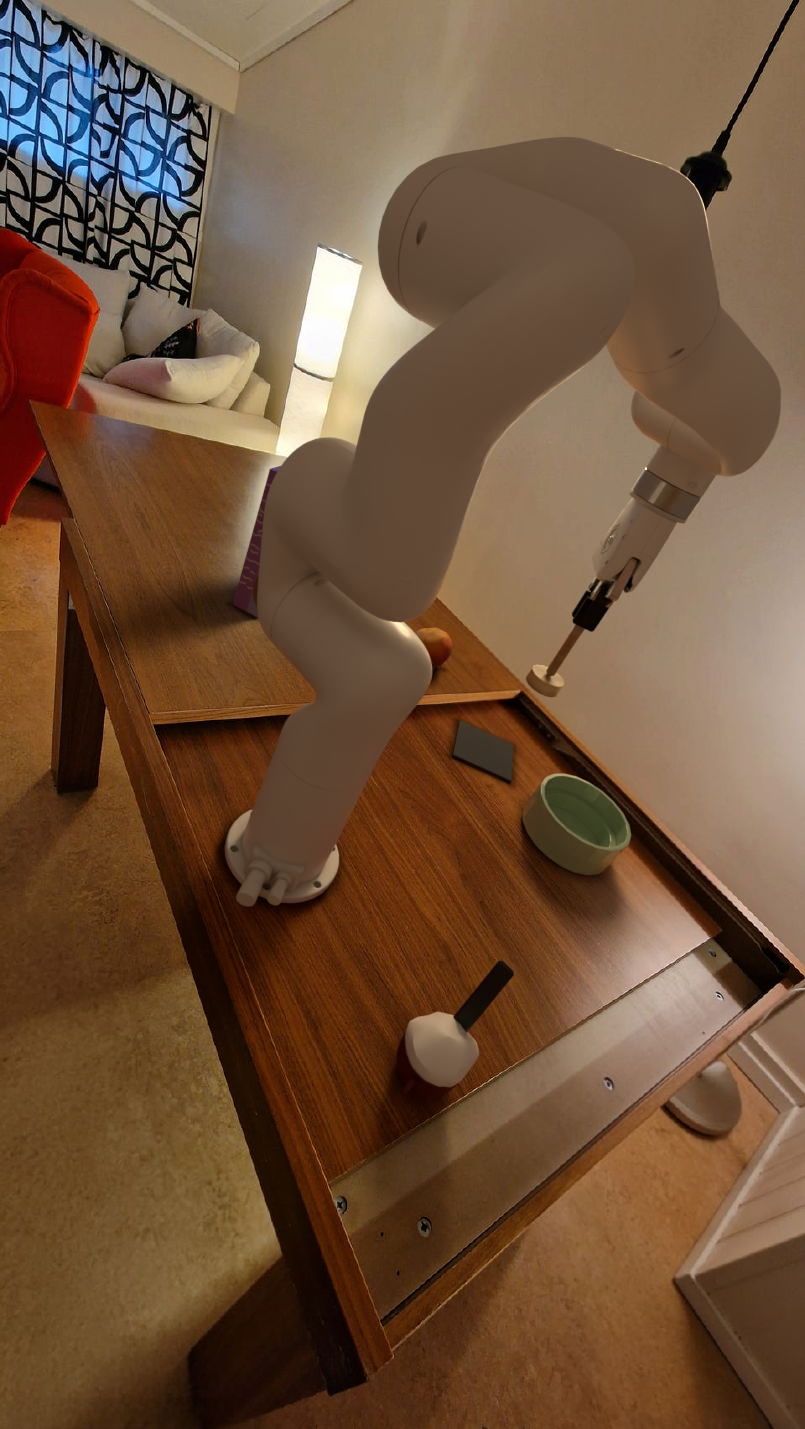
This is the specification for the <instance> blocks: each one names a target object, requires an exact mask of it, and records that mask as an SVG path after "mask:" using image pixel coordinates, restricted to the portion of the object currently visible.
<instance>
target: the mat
mask: <svg viewBox="0 0 805 1429" xmlns="http://www.w3.org/2000/svg"><path fill="white" fill-rule="evenodd" d="M457 724H458V725H457V730H456V735H455V739H454V745H453V750H452V757H453V758H455V759H457V760H459V761H462V762H464V763H467V764H468V765H470V766H473V767H474V768H477V769H479V770H482V771H484V772H486V773H488V774H491V775H492V776H495V777H497V778H499V779H501V780H503V781H505V782H507V783H511V782H512V781H513V761H514V760H513V759H514V744H513V743H511V742H509V741H507V740H505V739H502V738H500V737H497V736H495V735H493V734H491V733H489V732H487V731H485V730H482V729H480V728H478V727H476V726H474V725H472V724H469V723H467V722H465V721H463V720H461V719H459V721H458V723H457Z"/></svg>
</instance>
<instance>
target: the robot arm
mask: <svg viewBox="0 0 805 1429" xmlns="http://www.w3.org/2000/svg"><path fill="white" fill-rule="evenodd" d="M377 257H378V266H379V272H380V274H381V278H382V281H383V283H384V286H385V287H386V289H387V291H388V293H389V295H390V296H391V297H392V299H394V302H395V303H396V304H397V305H398V306H399V307H400V308H401V309H402V310H404V311H405V312H406V313H407V314H408V315H410V316H412V317H413V318H415V319H416V320H417V321H419V322H422V323H424V324H426V325H428V326H430V327H431V328H433V330H432V331H431V332H429V333H428V334H426V335H425V337H423V338H422V339H420V340H419V341H418V342H417V343H415V344H414V345H413V346H412V347H411V348H410V349H409V350H407V351H406V352H405V353H404V354H402V356H400V358H398V359H397V361H396V362H394V364H393V365H392V366H390V368H388V370H387V371H386V372H385V373H384V375H383V376H382V377H381V378H380V380H379V381H378V383H377V384H376V385H375V388H374V390H373V391H372V394H371V395H370V397H369V399H368V401H367V405H366V407H365V410H364V414H363V417H362V422H361V425H360V431H359V433H358V434H359V435H358V438H357V442H356V444H354V443H352V442H350V441H348V440H345V439H342V438H338V437H332V436H327V437H317V438H314V439H312V440H308V441H306V442H305V443H304V442H303V443H302V444H301V445H299V447H297V448H296V449H294V450H293V451H292V452H291V453H290V454H289V455H288V457H287V458H286V459H285V460H284V461H283V462H282V464H281V465H280V466H281V467H280V468H279V470H278V472H277V474H276V476H275V477H274V479H273V481H272V484H271V486H270V489H269V492H268V495H267V499H266V504H265V511H264V519H263V530H262V541H261V553H260V566H259V579H258V593H257V610H258V617H259V618H258V621H259V624H260V627H261V630H262V631H263V633H264V635H265V636H266V637H267V638H268V640H269V641H270V642H271V644H272V645H273V646H274V648H276V649H277V650H278V651H279V652H280V653H281V654H282V656H283V657H285V658H286V660H287V661H288V662H289V663H290V664H291V665H292V666H293V667H294V668H295V669H296V670H297V672H298V673H300V675H301V676H302V677H303V679H304V680H305V681H306V682H307V683H308V684H309V685H310V686H311V687H312V689H313V691H314V693H315V700H314V701H311V702H310V701H309V702H307V703H305V704H303V705H301V706H299V707H298V708H296V709H295V710H294V711H293V712H292V713H291V714H290V715H289V716H288V717H287V719H286V720H285V722H284V724H283V727H282V729H281V731H280V734H279V736H278V740H277V743H276V746H275V749H274V751H273V753H272V756H271V760H270V762H269V764H268V768H267V770H266V773H265V775H264V778H263V781H262V783H261V786H260V789H259V791H258V794H257V796H256V799H255V802H254V804H253V807H252V809H249V810H247V811H246V812H244V813H243V814H241V815H239V816H238V818H236V819H235V820H234V822H233V823H232V825H231V826H230V828H229V830H228V832H227V835H226V838H225V844H224V857H225V860H226V863H227V864H226V865H227V867H228V868H229V870H230V872H231V874H232V876H234V878H235V879H236V880H237V881H238V883H239V884H240V885H241V886H240V888H239V890H238V892H237V893H236V895H235V900H236V902H237V903H238V904H239V905H241V906H243V907H248V908H249V907H253V906H254V905H255V904H256V902H257V900H258V898H259V897H261V898H262V899H265V900H266V901H267V902H268V903H269V905H272V906H279V905H280V904H296V903H303V902H307V901H310V900H313V899H315V898H317V897H318V896H320V895H322V894H323V893H325V891H327V889H329V887H330V885H331V884H332V883H333V881H334V879H335V877H336V875H337V873H338V870H339V866H340V853H339V850H338V846H337V843H338V841H339V838H340V837H341V834H342V832H343V830H344V828H345V827H346V824H347V823H348V821H349V819H350V817H351V815H352V812H353V811H354V808H355V807H356V805H357V803H358V801H359V798H360V797H361V795H362V793H363V791H364V789H365V787H366V785H367V784H368V781H369V779H370V777H371V775H372V773H373V771H374V769H375V767H376V765H377V763H378V761H379V760H380V758H381V756H382V754H383V753H384V751H385V749H386V747H387V745H388V744H389V742H390V741H391V740H392V738H393V736H394V735H395V733H396V732H397V731H398V729H399V728H400V726H402V724H403V723H404V721H405V720H406V719H407V718H408V716H409V715H410V714H412V711H413V710H414V709H415V708H416V707H417V706H418V704H419V703H420V702H421V700H422V699H423V698H424V696H425V694H426V692H427V691H428V689H429V687H430V685H431V681H432V677H433V670H432V663H431V659H430V656H429V654H428V651H427V649H426V648H425V646H424V644H423V643H422V641H421V640H420V639H419V638H418V636H417V635H416V634H415V631H413V629H412V628H411V627H410V626H409V625H408V624H407V623H406V622H409V621H412V620H416V619H417V618H419V617H420V616H423V614H425V612H427V611H428V609H429V608H430V607H431V606H432V605H433V604H434V602H435V601H436V599H437V597H438V595H439V594H440V591H441V589H442V587H443V585H444V582H445V580H446V578H447V575H448V572H449V570H450V567H451V564H452V561H453V559H454V555H455V552H456V549H457V547H458V544H459V540H460V537H461V534H462V531H463V528H464V525H465V523H466V520H467V516H468V513H469V510H470V508H471V504H472V501H473V499H474V494H475V492H476V490H477V487H478V483H479V480H480V478H481V475H482V473H483V470H484V468H485V466H486V463H487V461H488V460H489V458H490V456H491V454H492V452H494V449H495V447H496V446H497V444H498V443H499V441H500V440H501V439H502V438H503V437H504V436H505V434H506V433H507V432H508V431H509V430H510V428H512V427H513V425H514V424H516V422H518V420H520V419H521V418H522V417H523V416H524V415H525V414H526V413H527V412H528V411H529V410H531V409H532V408H534V407H535V406H536V404H538V403H539V402H540V401H541V400H542V399H544V398H545V397H546V396H548V395H549V394H550V393H552V392H553V391H554V390H555V389H556V388H558V387H560V386H561V385H562V384H563V383H565V382H566V381H568V380H569V379H570V378H571V377H573V376H575V374H577V373H578V372H580V371H581V370H582V369H583V368H585V367H586V366H587V365H588V364H589V363H591V362H592V361H593V360H594V358H595V357H597V356H598V355H599V354H600V352H601V351H602V350H603V349H604V347H605V346H606V349H607V350H608V353H609V355H610V358H611V359H612V362H613V364H614V366H615V369H616V370H617V372H618V373H619V375H620V376H621V378H622V379H623V380H624V381H625V382H626V384H628V385H629V386H630V387H631V388H633V389H634V393H633V396H632V399H631V404H630V416H631V420H632V424H634V426H635V428H636V429H637V431H639V432H640V433H641V434H642V435H643V436H645V437H646V438H647V439H649V440H651V441H653V442H655V443H657V444H658V446H657V448H656V449H655V451H654V453H653V454H652V455H651V457H650V459H649V460H648V462H647V464H646V465H645V467H644V469H643V470H642V472H641V474H640V475H639V476H638V478H637V480H636V481H635V483H634V485H633V487H632V488H631V490H630V491H629V493H628V494H629V496H630V497H631V498H630V500H629V501H628V502H627V504H626V505H625V506H624V508H623V509H622V510H621V512H620V513H619V515H618V516H617V518H616V519H615V521H614V522H613V524H612V525H611V526H610V528H609V529H608V530H607V532H606V534H605V535H604V537H603V538H602V539H601V541H600V543H598V546H597V547H596V549H595V550H594V552H593V554H592V557H591V561H592V566H593V570H594V574H595V576H594V577H593V579H592V580H591V581H590V583H589V585H588V588H587V590H585V591H584V593H583V595H582V596H581V598H580V599H579V601H578V603H577V604H576V606H575V607H574V609H573V610H572V612H571V616H572V624H574V626H575V625H578V626H580V627H582V628H584V629H585V630H586V631H587V632H590V633H592V632H594V631H595V630H596V628H597V627H598V626H599V625H600V623H601V622H602V620H603V618H604V617H605V615H606V614H607V612H608V611H609V609H610V608H611V607H612V605H613V604H614V602H617V601H618V600H619V599H620V596H622V593H623V592H624V593H626V594H628V593H631V592H633V591H634V590H636V588H637V587H638V585H639V584H640V583H641V581H642V580H643V578H645V576H646V574H647V572H648V571H649V570H650V568H651V566H653V563H654V562H655V561H656V559H657V557H658V556H659V555H660V553H661V551H662V550H663V547H664V546H665V544H666V542H667V540H669V537H670V536H671V535H672V532H673V531H674V529H675V527H676V525H677V524H678V523H679V524H685V523H686V522H687V520H688V519H689V518H690V517H691V515H692V514H693V512H694V510H695V509H696V508H697V506H698V505H699V503H700V502H701V500H702V499H703V497H704V496H705V495H706V493H707V492H708V490H709V489H710V487H711V485H713V483H714V481H715V480H716V478H717V477H721V478H727V479H728V478H735V477H737V476H740V475H742V474H744V473H747V472H748V471H749V470H750V469H752V468H753V467H754V466H755V465H757V464H758V463H759V462H760V460H761V459H762V458H763V457H764V455H765V454H766V453H767V451H768V450H769V448H770V446H771V445H772V443H773V441H774V439H775V437H776V434H777V431H778V428H779V424H780V420H781V415H782V388H781V384H780V380H779V378H778V375H777V373H776V372H775V369H774V368H773V367H772V364H770V362H769V361H768V360H767V358H766V357H765V356H764V355H763V353H762V352H761V350H759V349H758V348H757V346H755V344H754V343H753V342H752V340H751V339H750V338H749V336H747V335H746V333H745V331H743V329H742V328H741V327H740V326H739V324H738V322H736V321H735V319H733V317H732V316H731V315H730V314H728V312H727V311H726V310H725V309H724V308H723V306H722V305H721V299H720V292H719V287H718V282H717V276H716V269H715V268H716V267H715V263H714V262H715V261H714V254H713V248H712V242H711V238H710V231H709V225H708V217H707V213H706V209H705V205H704V202H703V199H702V197H701V195H700V192H699V190H698V189H697V187H696V186H695V184H694V183H693V182H692V181H691V180H690V179H689V178H688V177H687V176H686V175H684V174H683V173H681V172H680V171H679V170H677V169H675V168H673V167H670V166H669V165H667V164H663V163H661V162H657V161H654V160H652V159H648V158H645V157H642V156H638V155H635V154H633V153H629V152H627V151H624V150H620V149H617V148H613V147H611V146H609V145H605V144H602V143H599V142H596V141H593V140H588V139H586V138H582V137H575V136H557V137H545V138H539V139H531V140H525V141H520V142H514V143H508V144H502V145H498V146H494V147H487V148H480V149H473V150H468V151H461V152H455V153H451V154H445V155H442V156H438V157H434V158H432V159H430V160H428V161H426V162H424V163H422V164H420V165H418V166H417V167H416V168H415V169H414V170H412V171H411V172H410V173H408V175H406V177H405V178H404V179H403V180H402V181H401V183H400V184H399V185H398V186H397V187H396V188H395V190H394V192H393V193H392V195H391V197H390V199H389V200H388V202H387V204H386V207H385V209H384V211H383V214H382V217H381V221H380V225H379V229H378V236H377Z"/></svg>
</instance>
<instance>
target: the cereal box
mask: <svg viewBox="0 0 805 1429" xmlns="http://www.w3.org/2000/svg"><path fill="white" fill-rule="evenodd" d="M280 467H281V465H279V466H274V467H271V468H269V471H268V474H267V478H266V481H265V485H264V489H263V492H262V496H261V499H260V502H259V503H260V504H259V508H258V510H257V514H256V517H255V522H254V526H253V529H252V532H251V536H250V541H249V544H248V548H247V551H246V553H245V559H244V561H243V566H242V569H241V573H240V576H239V580H238V583H237V587H236V591H235V594H234V598H233V602H232V606H234V607H235V608H237V609H239V610H241V611H243V612H244V613H246V614H248V615H250V616H252V617H254V618H255V619H259V617H258V610H257V593H258V579H259V566H260V553H261V541H262V530H263V519H264V511H265V504H266V499H267V495H268V492H269V489H270V486H271V484H272V481H273V479H274V477H275V476H276V474H277V472H278V470H279V468H280Z"/></svg>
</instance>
